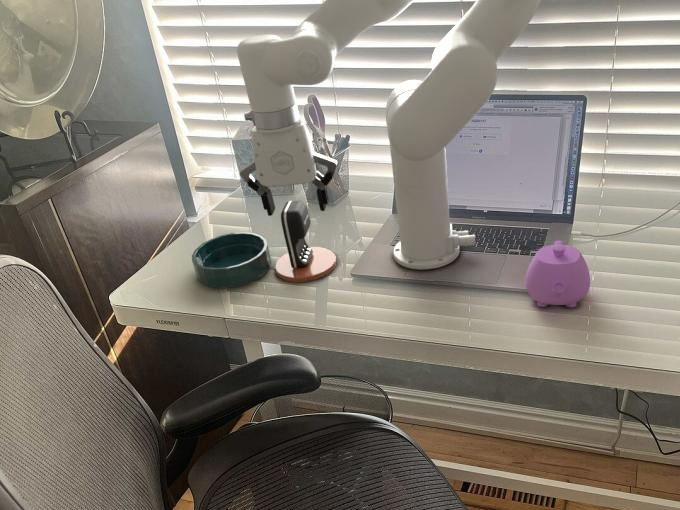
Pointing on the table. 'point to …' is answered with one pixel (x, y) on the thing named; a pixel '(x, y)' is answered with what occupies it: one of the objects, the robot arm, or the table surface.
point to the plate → (317, 267)
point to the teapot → (558, 276)
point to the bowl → (231, 259)
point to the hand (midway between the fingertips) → (297, 210)
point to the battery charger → (296, 232)
